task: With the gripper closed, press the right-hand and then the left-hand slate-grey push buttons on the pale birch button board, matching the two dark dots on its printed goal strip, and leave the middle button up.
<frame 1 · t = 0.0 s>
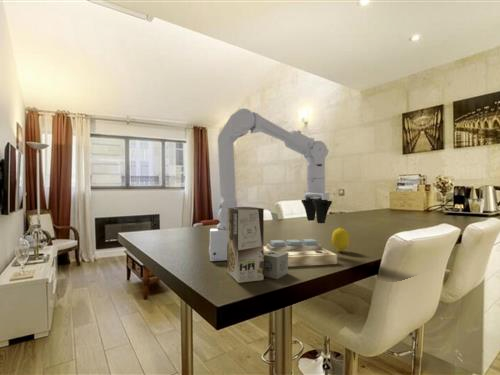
hand: (315, 221, 86), 10 cm above the table, fingers open, 7 cm apart
coffee box: (244, 276, 63), on the table
button right: (309, 242, 82), point 4 cm above the table, slide at 0.0 cm
button middle: (293, 243, 81), point 4 cm above the table, slide at 0.0 cm
dice cube: (273, 275, 65), on the table
button board: (296, 258, 79), on the table
button left: (277, 243, 80), point 4 cm above the table, slide at 0.0 cm
lemon: (340, 252, 88), on the table
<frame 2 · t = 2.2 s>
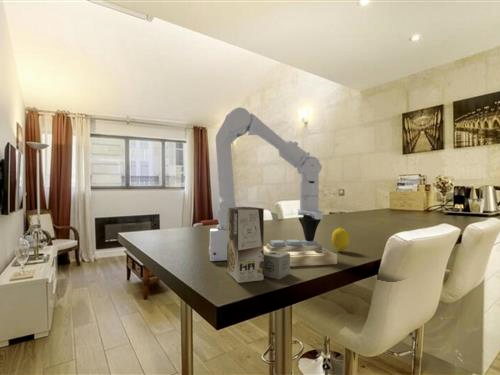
hand: (309, 240, 82), 5 cm above the table, fingers closed, pressing on button right
button right: (309, 243, 82), point 4 cm above the table, slide at 0.1 cm, touching gripper
everything else where it was.
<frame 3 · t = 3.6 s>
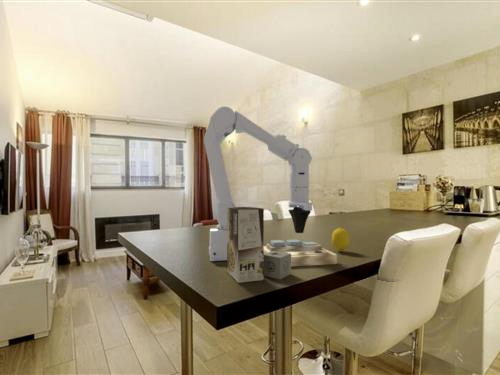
hand: (299, 232, 82), 7 cm above the table, fingers closed
button right: (309, 245, 82), point 3 cm above the table, slide at 0.9 cm, touching button board
everything else where it was.
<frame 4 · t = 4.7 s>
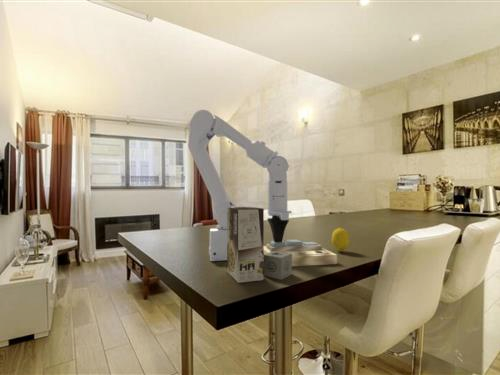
hand: (278, 241, 80), 5 cm above the table, fingers closed, pressing on button left
button left: (277, 244, 80), point 4 cm above the table, slide at 0.1 cm, touching gripper
everything else where it was.
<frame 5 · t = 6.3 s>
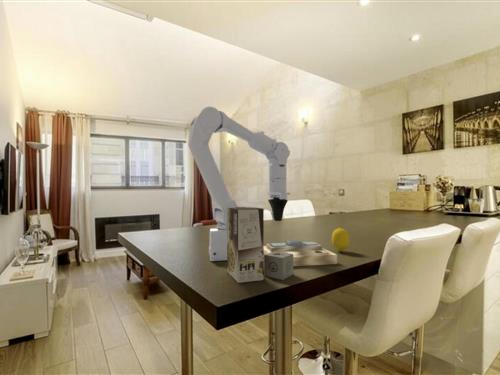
hand: (277, 220, 88), 10 cm above the table, fingers closed
button left: (277, 246, 80), point 3 cm above the table, slide at 0.9 cm, touching button board
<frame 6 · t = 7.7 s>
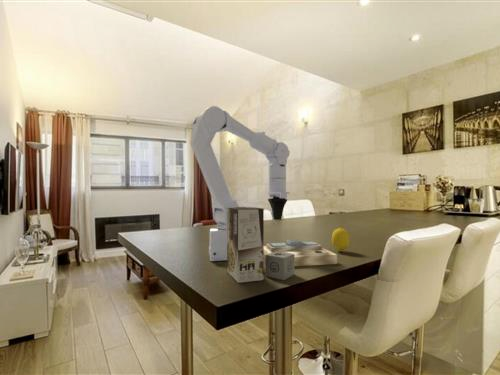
hand: (277, 219, 90), 10 cm above the table, fingers closed
at the end: button right slide at 0.9 cm; button left slide at 0.9 cm; button middle slide at 0.0 cm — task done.
